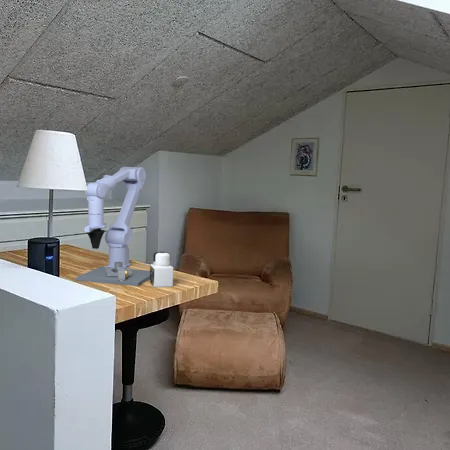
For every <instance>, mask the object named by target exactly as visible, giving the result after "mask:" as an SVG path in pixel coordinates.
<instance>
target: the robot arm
mask: <svg viewBox="0 0 450 450" xmlns="http://www.w3.org/2000/svg"><path fill="white" fill-rule="evenodd" d="M146 179H147V173H146V170H145V168H144V167H143V166H139V167H137V166H122V167H120V168H119V170H118V171H116V172H115V173H114V174H112V175H109V174H105V175H103V177H102V178H101V179H97V180H96V181H95V182H90V183H88V184H87V185H86V187H87V191H85V190H84V193H85V196H86V200H87V205H88V206H87V208H88V210H87V212H88V213H87V217H88V218H87V219H88V221H87V222H88V223H87V225H86V226H84V227H83V229H84V231H83V232H84V233H86V235H88V238H89V240H90V241H89V242H90V244H91V248H92V249H96V250H98V249H99V248H100V245H101V240H102V238H103V237H104V241H105V243H106V244H107V246H108V264H107V265H105V266H104V267H113V268H114V263H115V262H123V265H122V267H129V266H131V265H132V263H131V262H130V248H129V245H130V243H131V241H132V234H133V230H132V229H131V227H130V226H129V225H130V223H131V219H132V217H133V214H134V211H135V209H136V206H137V204H138V200H139V199H140V195H141V191H142V189H143V188H144V185H145V182H146ZM120 182H122V184H123V186H124V187H125V188H126V189H127V192H126V194H125V196H124V201H123V203H122V205H121V208H120V211H119V214H118V216H117V219H116V221H115V222H114V223H111V224H110V225H109V227H108V229H107V223H106V222H104V217H105V216H104V209H105V208H104V207H105V205H104V203H105V201H104V200H105V199H104V198H106V197H107V195H108V193H109V192H111V191H112V190H114V189H115V188H116V187H117V184H118V183H120ZM105 229H107V230H106V231H105ZM103 235H104V236H103Z"/></svg>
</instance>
